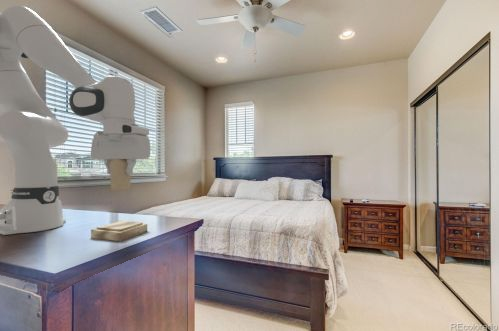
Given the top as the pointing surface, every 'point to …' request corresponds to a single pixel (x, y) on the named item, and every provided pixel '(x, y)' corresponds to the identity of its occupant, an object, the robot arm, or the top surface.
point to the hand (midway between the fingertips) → (119, 174)
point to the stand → (119, 230)
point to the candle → (119, 175)
